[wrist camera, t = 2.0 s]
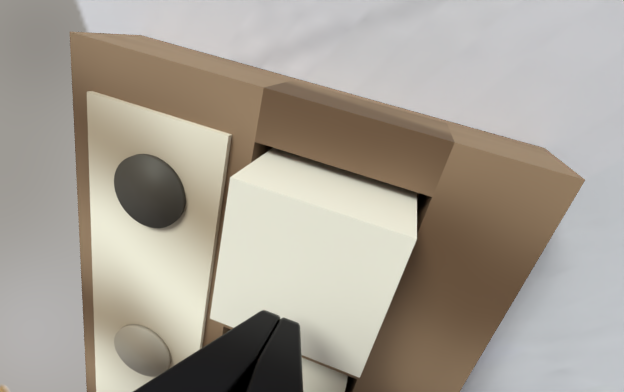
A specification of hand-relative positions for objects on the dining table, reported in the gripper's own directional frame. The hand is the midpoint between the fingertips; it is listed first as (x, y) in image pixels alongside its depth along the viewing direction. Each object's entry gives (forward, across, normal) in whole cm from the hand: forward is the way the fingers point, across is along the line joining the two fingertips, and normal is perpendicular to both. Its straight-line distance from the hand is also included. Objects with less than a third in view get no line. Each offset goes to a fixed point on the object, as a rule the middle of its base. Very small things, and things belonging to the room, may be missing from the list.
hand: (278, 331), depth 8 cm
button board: (+7, +2, +7) cm, 10 cm away
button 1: (+5, 0, 0) cm, 5 cm away
